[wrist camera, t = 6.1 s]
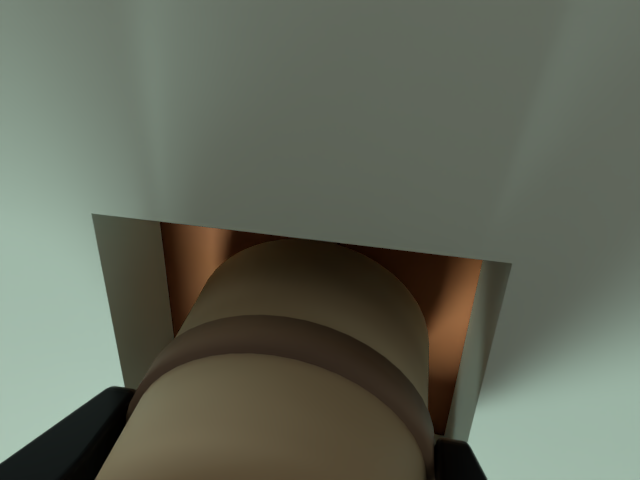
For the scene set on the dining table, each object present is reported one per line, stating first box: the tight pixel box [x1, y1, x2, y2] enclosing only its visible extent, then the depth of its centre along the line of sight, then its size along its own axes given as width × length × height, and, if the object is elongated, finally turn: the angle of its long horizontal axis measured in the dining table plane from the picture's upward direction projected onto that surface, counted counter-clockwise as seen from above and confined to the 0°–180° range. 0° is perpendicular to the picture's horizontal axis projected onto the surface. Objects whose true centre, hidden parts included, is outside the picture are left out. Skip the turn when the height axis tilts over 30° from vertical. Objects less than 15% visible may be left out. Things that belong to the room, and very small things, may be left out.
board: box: [0, 0, 640, 480], centre depth 11 cm, size 14×16×2 cm
